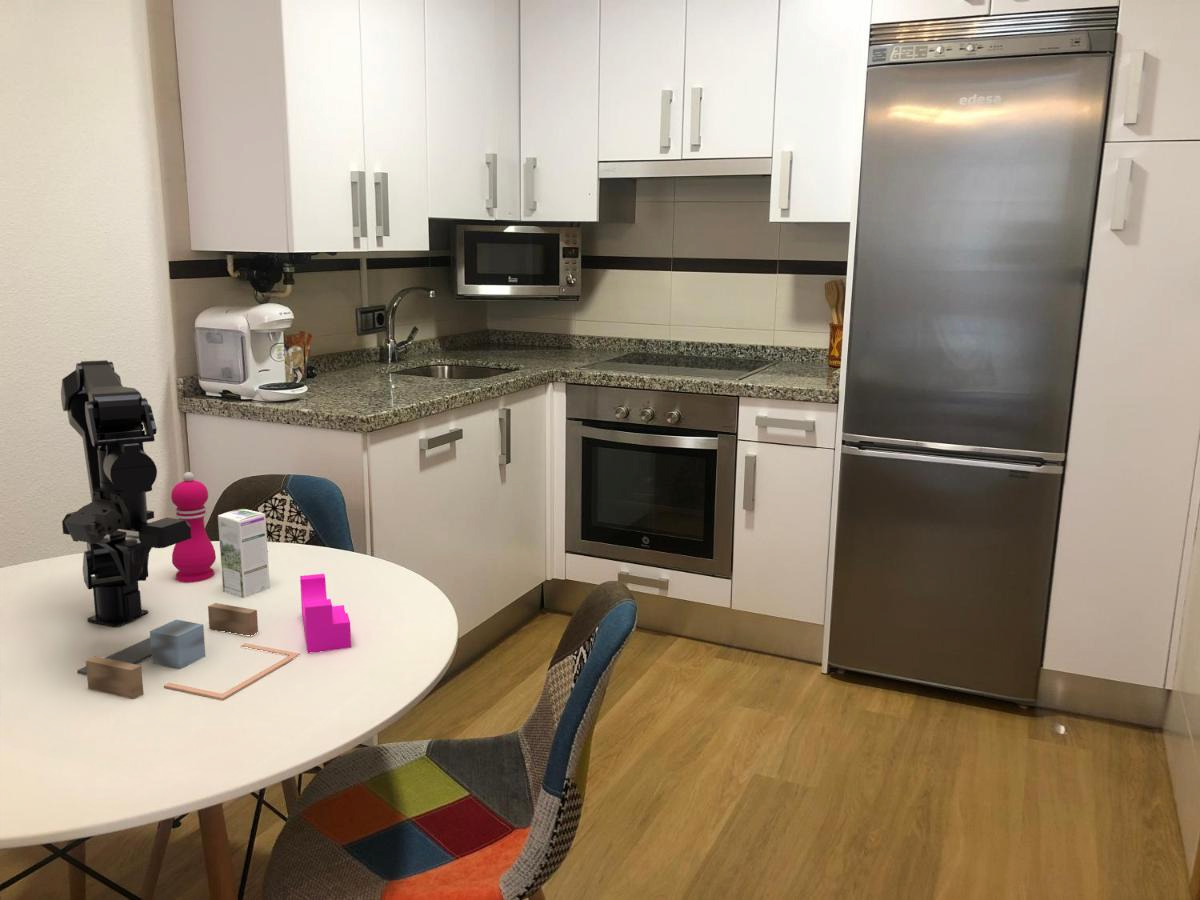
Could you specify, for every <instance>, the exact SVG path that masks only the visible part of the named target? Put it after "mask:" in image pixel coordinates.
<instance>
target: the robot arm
mask: <svg viewBox="0 0 1200 900" xmlns="http://www.w3.org/2000/svg"><path fill="white" fill-rule="evenodd" d="M60 398H61V407H62V411H63V412H66V413H67V417H68V422H69V425H70V426H71V427H72V428H73V429H74V430H75V431H76V433H77V434H79V436H80V437H81V438H82V443H83V444H82V445H83V450H84V458H85V464H86V473H87V478H88V485H89V492H90V493H89V494H90V499H91V502H89V503H88V504H85V505H84V506H82V507H80V508H79V509H78V510H76V511H73V512H69V513H66V515H65V516H64V518H63V520H62V521H61V526H62V534H63V535H70V538H71V539H72V541H73V542H77V543H78V542H84V543H86V550H84V551H83V556H82V557H83V558H82V575H83V583H84V584H85V586H86V588H87V590H92V592H93V605H94V615H92V616H88V617H87V618H86V619H87V622H89V623H96V624H100V625H105V626H111V627H121V626H123V625H126V624H127V623H130V622H132V621H135V620H138V619H140V618H142V617H144V616H146V615H148V614H149V610H148V609H147V610H146V609H142V599H141V597H142V596H141V591H140V590H139V582H142V581H143V582H144V581H147V578H149V556H150V552H151V550H152V549H153V548H154V549H165V548H168V547H170V546H171V547H172V546H173V545H174V546H175V544H177V543H179V542H182V541H185V540H188V539H191V527H190V524H189V523H188V522H187V521H186V520H181V519H178V518H173V517H164V518H161V519H158V520H155V521H151V522H148V521H149V520H153V519H155V511H154V510H148V505H147V492H151V491H153V484H154V483H155V481H156V479H157V476H158V470H157V466H156V463H155V461H154V460H153V459H152V458H151V456H150V455H148V454H147V453H146V452H145V449H144V443H148V442H149V443H150V442H151V443H153V442H155V440H156V439H155V435H157V430H158V429H157V425H156V420H155V418H154V413H153V410H152V409H153V408H152V406H151V404H149V403H148V402H149V401H148V399H147V397H143V396H142V394H141V392H140V391H139V390H138V389H136V388H134V387H128V386H124V385H123V384H122V380H121V376H120V375H119V374H118V373H117V372H116V371H115V366H114V363H113V361H108V360H107V359H106V360H84V361H82V360H81V361H80V362H76V364H75V370H73V371H72V372H71V373H69V374H68V375H66V376H65V377H64V378H62V379H61V388H60Z"/></svg>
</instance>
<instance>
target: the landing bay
mask: <svg viewBox="0 0 1200 900" xmlns="http://www.w3.org/2000/svg"><path fill="white" fill-rule="evenodd" d="M241 646H242V647H248V648H252V649H257V650H263V651H268V652H272V653H271V654H273V653H279V654H284V655H288V656H285V657H284V658H282V659H281V660H279V661H277V662H276V663H274V664H272V665H270V666H269V667H267V668H265V669H263V670H261V671H260V672H258V673H256V674H254V675H253V676H251V677H249V678H248V679H245V680H244V681H242V682H241V683H238V684H237V685H235V686H233V687H231V688H229V690H228V689H227V690H226V691H224V692H223V693H220V692H215V691H211V690H206V689H201V688H197V687H191V686H188V685H187V686H186V685H183V684H178V683H172V682H168V683H166V684H164V685H163V689H169V690H173V691H179V692H182V693H187V694H192V695H196V696H197V695H198V696H201V697H206V698H211V699H216V700H221V701H224V700H226V699H228V698H230V697H231V696H233V695H234V694H237V693H238V692H240V691H242V690H243V689H245V688H247V687H248V686H250V685H252V684H254V683H256V682H258V681H259V680H261V679H262V678H264V677H266V676H267V675H270V674H271V673H273V672H275V671H276V670H278V669H280V668H281V667H283V666H285V665H286V663H287V664H288V663H290V662H292V661H293V660H294V659H293V658H295V657H297V656H298V655H300V656H301V653H299V652H293V651H290V650H289V651H288V650H282V649H279V648H272V647H267V646H262V645H256V644H250V643H242V644H241V645H240V647H241ZM252 649H251V650H252ZM257 650H256V651H257ZM268 652H267V653H268ZM298 657H299V656H298ZM298 657H297V658H298ZM292 659H293V660H292ZM295 659H296V658H295ZM291 660H292V661H291ZM289 661H290V662H289ZM284 664H285V665H284Z"/></svg>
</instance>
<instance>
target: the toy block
mask: <svg viewBox="0 0 1200 900" xmlns="http://www.w3.org/2000/svg"><path fill="white" fill-rule="evenodd" d="M299 578H300V579H299V583H300V584H299V585H300V603H301V617H302V618H303V619H302V622H303V623H302V624H303V630H304V631H303V632H304V639H305V645H307V646H306V651H307V652H308V653H309V654H311V653H310V652H316V653H320V651H323V652H328V651H335V650H336V651H337V650H342V649H351V648H352V639H351V638H352V635H351V620H350V616H349V614H348V612H346V610H345V609H346V608H345V605H344V604H343V605H333V604H332V600H331V598H327V596H328V594H327V585H326V584H327V583H326V575H325V573H319V574H318V573H317V574H307V575H306V574H305V575H300V576H299ZM308 653H307V654H308Z"/></svg>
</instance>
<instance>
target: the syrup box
mask: <svg viewBox="0 0 1200 900" xmlns="http://www.w3.org/2000/svg"><path fill="white" fill-rule="evenodd" d="M217 523H218V537H219V550H220V565H221V579H222V591H223V592H224V593H227V594H230V595H233V596H236V597H239V598H242V599H245V598H247V597H251V596H253V595H256V594H258V593H261V592H263V591H267V590H268V589H270V588H271V583H270V569H269V553H268V537H267V520H266V513H264V512H260V511H256V510H255V511H254V510H250V509H246V508H240V509H233V510H231V511H227V512H224V513H222V514H218V515H217ZM255 593H256V594H255ZM250 595H251V596H250Z"/></svg>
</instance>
